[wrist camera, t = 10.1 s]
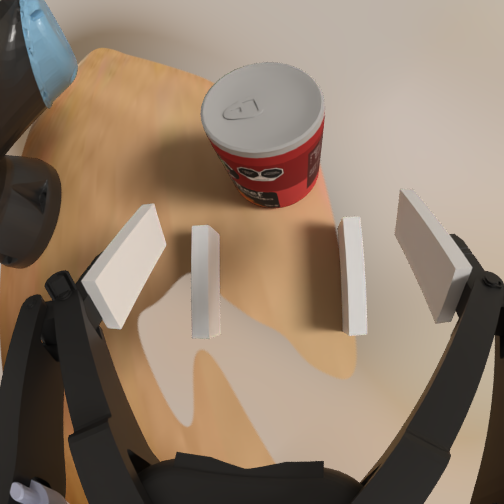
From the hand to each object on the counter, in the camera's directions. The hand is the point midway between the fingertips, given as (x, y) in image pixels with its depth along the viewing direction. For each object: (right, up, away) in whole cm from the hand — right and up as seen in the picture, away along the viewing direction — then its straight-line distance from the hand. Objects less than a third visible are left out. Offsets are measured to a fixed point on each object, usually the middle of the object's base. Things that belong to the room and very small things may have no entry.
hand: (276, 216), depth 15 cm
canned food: (+1, +6, +13) cm, 14 cm away
